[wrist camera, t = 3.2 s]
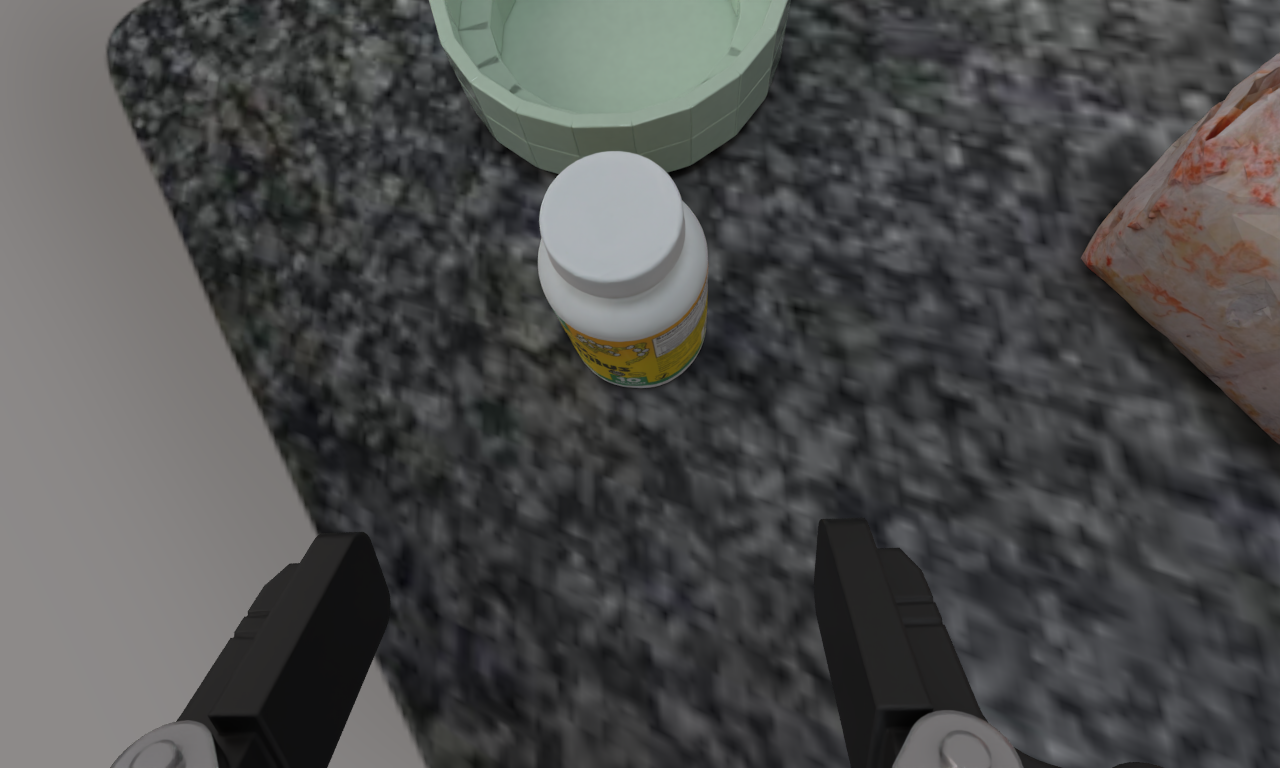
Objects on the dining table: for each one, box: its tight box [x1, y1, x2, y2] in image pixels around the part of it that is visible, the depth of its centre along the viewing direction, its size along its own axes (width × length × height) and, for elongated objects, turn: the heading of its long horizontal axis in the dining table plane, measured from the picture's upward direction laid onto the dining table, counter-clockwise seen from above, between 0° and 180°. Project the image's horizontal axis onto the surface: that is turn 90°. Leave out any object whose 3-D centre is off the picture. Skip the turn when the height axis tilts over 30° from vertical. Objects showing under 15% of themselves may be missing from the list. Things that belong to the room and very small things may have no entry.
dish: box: [429, 0, 791, 174], centre depth 30 cm, size 14×14×4 cm
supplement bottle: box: [538, 151, 708, 388], centre depth 24 cm, size 5×5×10 cm
